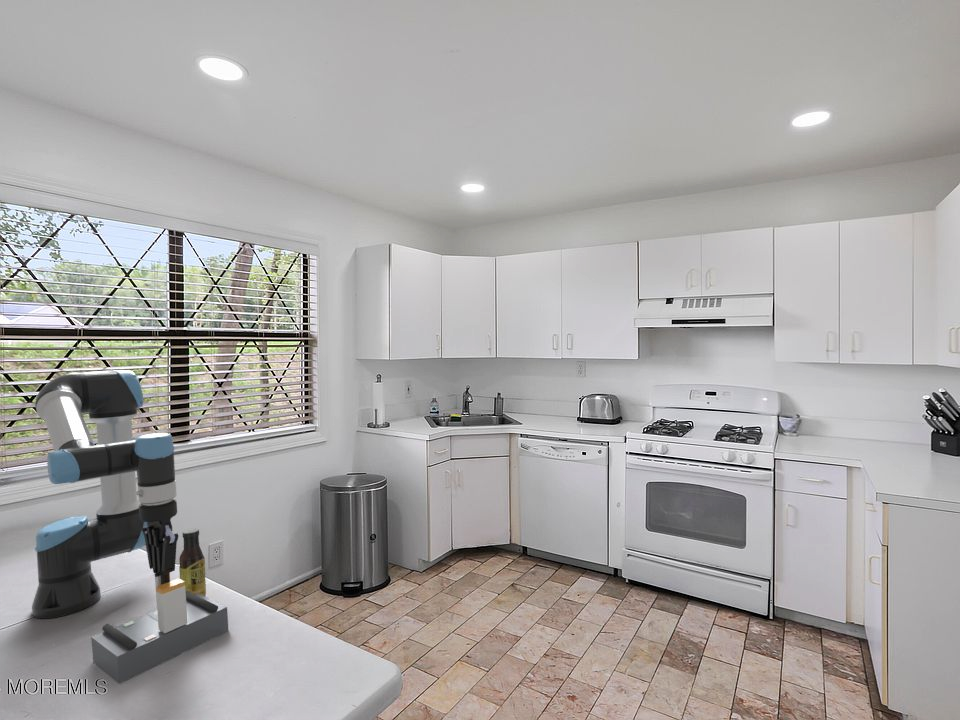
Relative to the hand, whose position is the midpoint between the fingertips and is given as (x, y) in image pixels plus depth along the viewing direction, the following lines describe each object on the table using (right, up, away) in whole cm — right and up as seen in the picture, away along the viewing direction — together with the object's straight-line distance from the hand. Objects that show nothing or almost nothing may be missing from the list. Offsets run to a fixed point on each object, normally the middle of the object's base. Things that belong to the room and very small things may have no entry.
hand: (164, 600), depth 124 cm
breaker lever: (+3, -6, -2) cm, 7 cm away
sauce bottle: (-5, -11, +23) cm, 26 cm away
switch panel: (-1, -12, +2) cm, 12 cm away
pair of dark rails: (-1, -6, +1) cm, 6 cm away
